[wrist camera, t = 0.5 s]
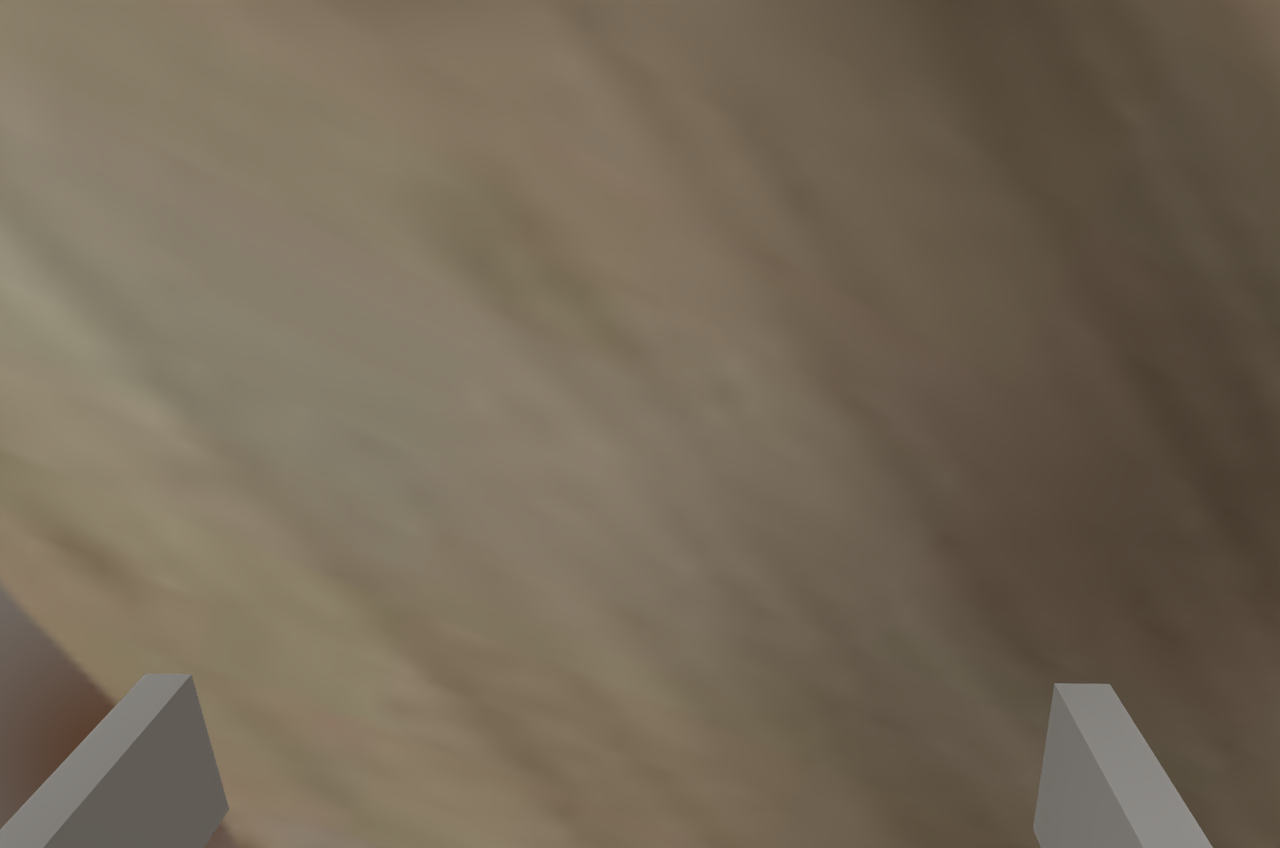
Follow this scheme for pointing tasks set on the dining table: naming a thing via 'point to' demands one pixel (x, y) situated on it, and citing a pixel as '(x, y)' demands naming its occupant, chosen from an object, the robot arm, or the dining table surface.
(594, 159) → the dining table surface
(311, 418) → the dining table surface
